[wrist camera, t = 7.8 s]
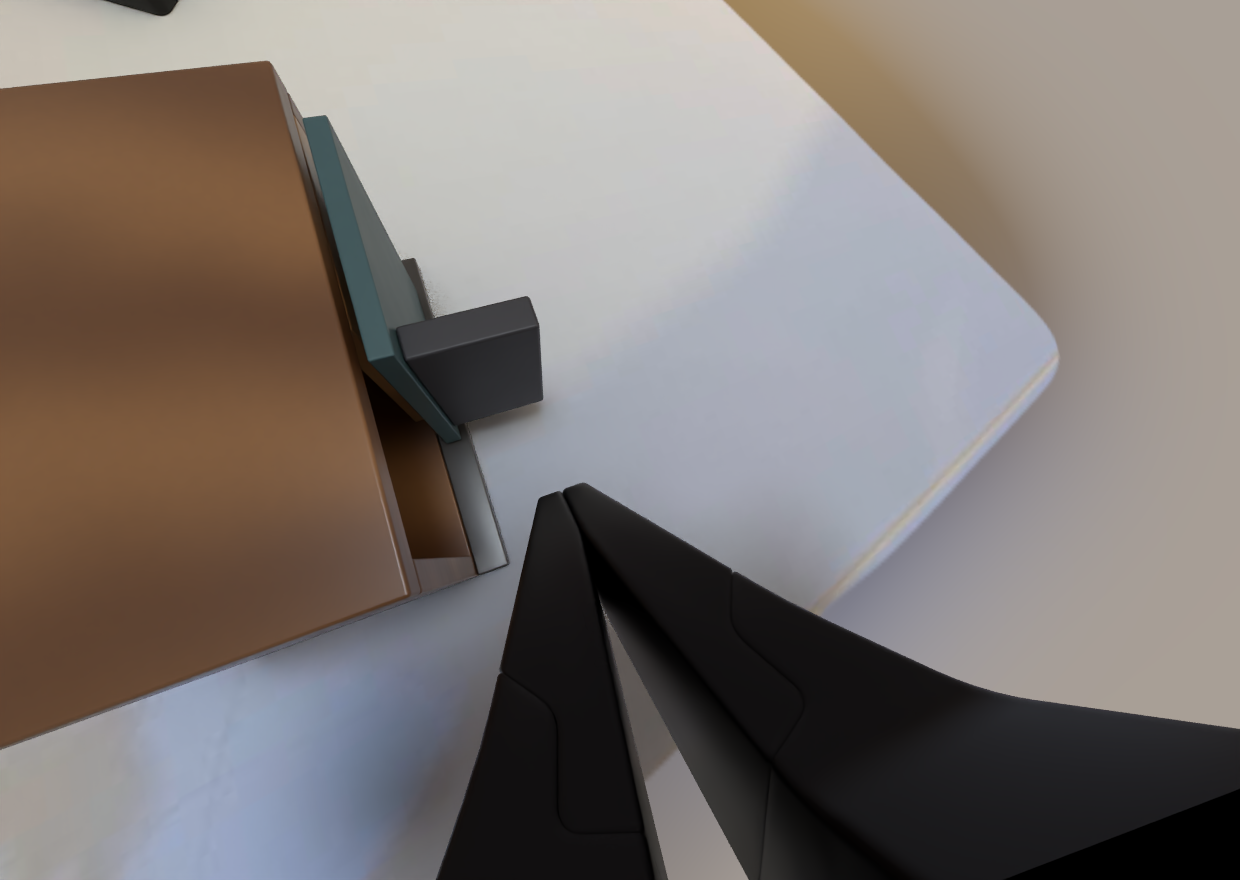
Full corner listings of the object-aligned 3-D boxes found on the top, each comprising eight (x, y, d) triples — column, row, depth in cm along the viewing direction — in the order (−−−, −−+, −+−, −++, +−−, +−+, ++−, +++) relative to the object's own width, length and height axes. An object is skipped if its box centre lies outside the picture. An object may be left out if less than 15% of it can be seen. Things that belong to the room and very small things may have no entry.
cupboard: (510, 564, 18) (471, 574, 9) (255, 658, 16) (-104, 787, 7) (418, 265, 20) (319, 52, 12) (187, 314, 18) (-137, 101, 10)
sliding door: (545, 414, 19) (541, 318, 11) (446, 444, 18) (367, 361, 10) (496, 271, 20) (462, 96, 12) (401, 292, 19) (300, 117, 11)
